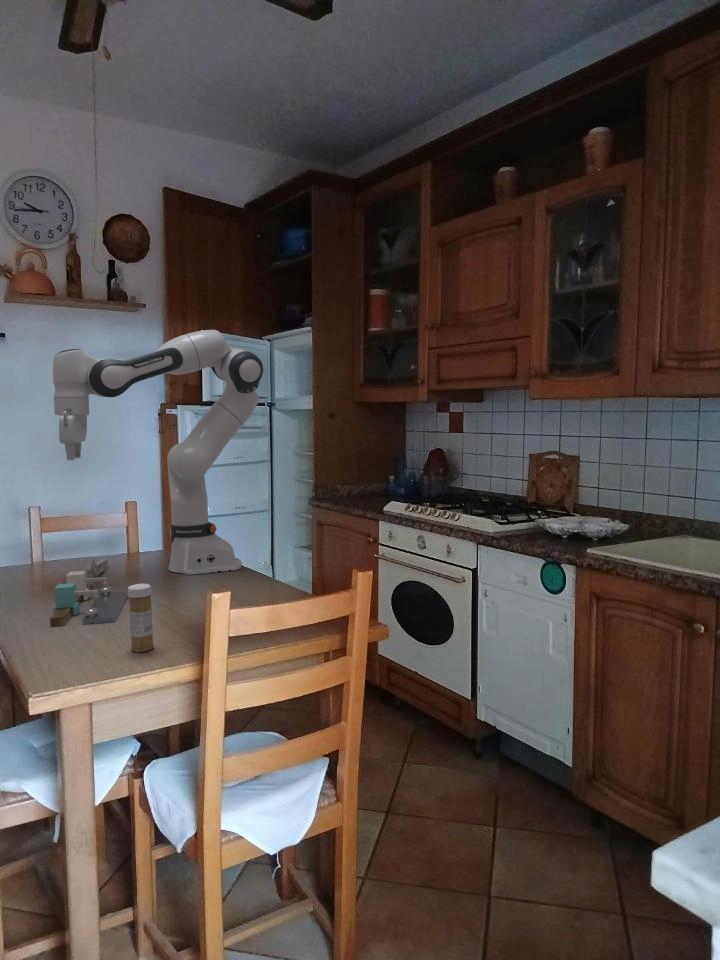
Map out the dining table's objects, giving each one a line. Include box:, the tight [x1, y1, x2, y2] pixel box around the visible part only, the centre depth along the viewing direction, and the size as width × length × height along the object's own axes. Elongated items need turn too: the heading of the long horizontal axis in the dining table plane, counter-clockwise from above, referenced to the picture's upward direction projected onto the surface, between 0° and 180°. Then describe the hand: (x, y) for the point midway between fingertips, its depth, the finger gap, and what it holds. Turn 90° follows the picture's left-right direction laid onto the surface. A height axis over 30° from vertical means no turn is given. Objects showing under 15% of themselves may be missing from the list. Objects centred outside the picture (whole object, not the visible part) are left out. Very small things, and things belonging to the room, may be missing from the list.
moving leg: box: [52, 582, 99, 616], centre depth 166 cm, size 10×4×7 cm, turn 101°
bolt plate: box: [82, 586, 129, 625], centre depth 170 cm, size 7×24×3 cm, turn 11°
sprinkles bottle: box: [127, 583, 154, 653], centre depth 140 cm, size 5×5×13 cm
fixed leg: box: [66, 570, 108, 601], centre depth 179 cm, size 10×4×7 cm, turn 101°
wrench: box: [84, 558, 109, 587], centre depth 201 cm, size 8×2×30 cm
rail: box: [49, 595, 84, 627], centre depth 168 cm, size 3×24×2 cm, turn 11°
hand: (74, 459), depth 188 cm, fingers open, 8 cm apart
